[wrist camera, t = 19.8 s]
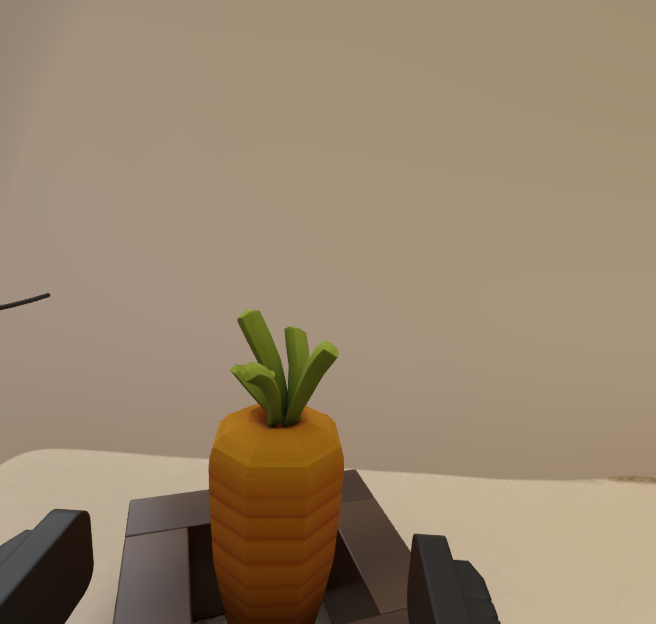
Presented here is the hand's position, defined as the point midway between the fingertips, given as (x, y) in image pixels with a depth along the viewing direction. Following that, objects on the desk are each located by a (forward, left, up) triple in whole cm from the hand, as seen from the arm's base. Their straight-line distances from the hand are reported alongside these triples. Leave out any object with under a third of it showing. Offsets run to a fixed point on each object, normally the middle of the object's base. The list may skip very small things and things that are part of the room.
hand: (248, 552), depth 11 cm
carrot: (-5, +2, -10) cm, 12 cm away
